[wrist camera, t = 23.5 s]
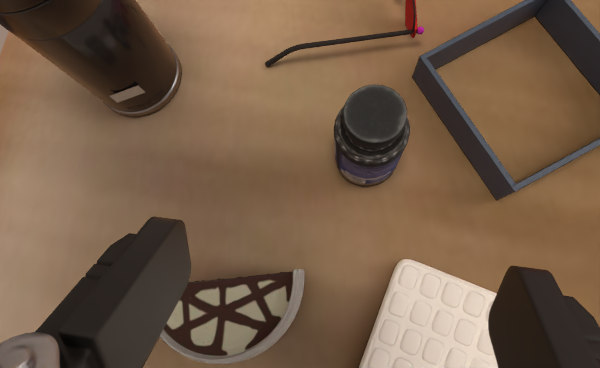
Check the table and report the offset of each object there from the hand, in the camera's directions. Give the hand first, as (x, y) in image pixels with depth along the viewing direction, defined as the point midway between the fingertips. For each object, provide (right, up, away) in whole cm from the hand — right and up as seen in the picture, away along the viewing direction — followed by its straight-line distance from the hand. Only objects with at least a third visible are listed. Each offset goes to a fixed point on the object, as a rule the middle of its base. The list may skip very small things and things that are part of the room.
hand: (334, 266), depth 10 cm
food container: (-6, -10, +27) cm, 30 cm away
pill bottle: (+6, +5, +30) cm, 31 cm away
